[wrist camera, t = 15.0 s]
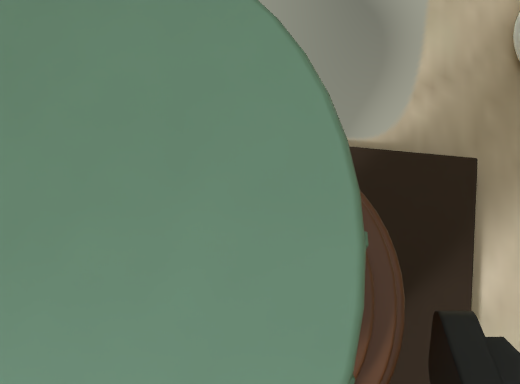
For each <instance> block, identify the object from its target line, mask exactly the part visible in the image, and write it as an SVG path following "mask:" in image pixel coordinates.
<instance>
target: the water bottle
mask: <svg viewBox="0 0 520 384" xmlns="http://www.w3.org/2000/svg"><path fill="white" fill-rule="evenodd" d="M513 40H514V48H515V51H516V54H517V57H518V59H519V61H520V12H519V14H518V16H517V19H516V22H515V26H514V33H513Z"/></svg>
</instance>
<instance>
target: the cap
mask: <svg viewBox="0 0 520 384" xmlns="http://www.w3.org/2000/svg"><path fill="white" fill-rule="evenodd" d="M368 245H369V244H368V234H367V232H366V231H364V224H363V214H362V204H361V195H360V189H359V185H358V181H357V177H356V172H355V168H354V164H353V160H352V156H351V152H350V148H349V144H348V140H347V138H346V135H345V133H344V130H343V128H342V125H341V123H340V120H339V118H338V115H337V113H336V110H335V108H334V105H333V103H332V100H331V98H330V95H329V93H328V91H327V90H326V88H325V86H324V85H323V83H322V81H321V79H320V78H319V76H318V74H317V73H316V71H315V69H314V67H313V65H312V64H311V62H310V60H309V59H308V57H307V55H306V54H305V53H304V51H303V50H302V49H301V47H300V46H299V45H298V44H297V42H296V41H295V40H294V38H293V37H292V36H291V35H290V33H289V32H288V31H287V30H286V29H285V27H284V26H283V25H282V23H281V22H280V21H279V20H278V19H277V18H276V17H275V16H274V15H273V14H272V13H271V12H270V11H269V10H268V9H267V8H266V7H265V6H263V5H262V4H261V3H260V2H259V1H258V0H0V384H354V383H355V377H354V375H353V371H354V366H355V360H356V354H357V348H358V341H359V335H360V329H361V323H362V317H363V311H364V294H365V262H366V249H367V247H368Z"/></svg>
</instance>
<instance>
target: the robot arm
mask: <svg viewBox="0 0 520 384" xmlns="http://www.w3.org/2000/svg"><path fill="white" fill-rule="evenodd" d="M428 368H429V378H430V384H520V353H519V352H518V351H517V350H516V349H515V348H514V347H513V346H512V345H511V344H510V343H509V342H508V341H507V340H506V339H505V338H504V337H485V335H484V333H483V331H482V328H481V326H480V324H479V321H478V319H477V317H476V315H475V313H474V312H473V311H435V312H434V314H433V321H432V330H431V340H430V349H429V359H428Z"/></svg>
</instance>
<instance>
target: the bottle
mask: <svg viewBox="0 0 520 384" xmlns="http://www.w3.org/2000/svg"><path fill="white" fill-rule="evenodd" d="M360 195H361V204H362V214H363V224H364V231H366V232H367V234H368V244H369V245H368V247H367V249H366V262H365V294H364V311H363V317H362V323H361V329H360V335H359V341H358V348H357V354H356V360H355V366H354V371H353V375H354V377H355V383H354V384H389V383H390V380H391V378H392V376H393V373H394V371H395V367H396V364H397V360H398V357H399V353H400V350H401V345H402V338H403V331H404V324H405V296H404V288H403V280H402V273H401V269H400V266H399V262H398V258H397V254H396V251H395V248H394V246H393V243H392V241H391V238H390V236H389V233H388V231H387V229H386V227H385V226H384V224H383V222H382V220H381V219H380V217H379V215H378V213H377V211H376V210H375V209H374V207H373V206H372V205H371V203H370V202H369V201H368V199H367V198H366V197H365V195H364V194H363V193H362V192H361V191H360Z"/></svg>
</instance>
